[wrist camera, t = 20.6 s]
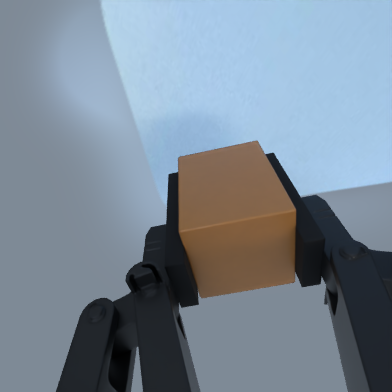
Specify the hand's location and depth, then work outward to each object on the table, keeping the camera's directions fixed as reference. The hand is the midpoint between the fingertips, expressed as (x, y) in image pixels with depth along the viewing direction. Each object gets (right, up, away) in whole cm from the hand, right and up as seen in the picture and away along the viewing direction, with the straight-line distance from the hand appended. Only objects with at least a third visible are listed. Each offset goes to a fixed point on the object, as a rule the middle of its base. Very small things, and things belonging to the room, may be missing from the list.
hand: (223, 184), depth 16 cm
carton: (0, 0, 0) cm, 0 cm away
